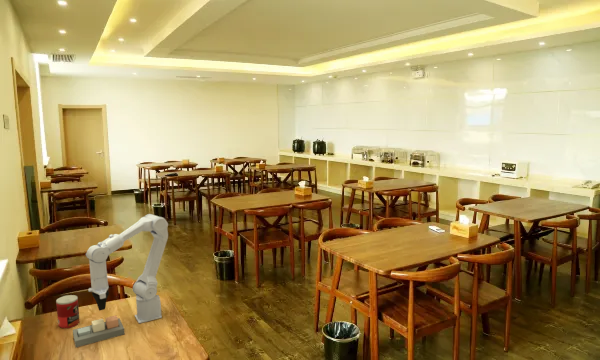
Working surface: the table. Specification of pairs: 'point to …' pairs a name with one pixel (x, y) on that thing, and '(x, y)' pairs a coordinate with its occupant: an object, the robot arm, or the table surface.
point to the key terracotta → (112, 322)
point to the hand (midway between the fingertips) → (101, 309)
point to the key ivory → (98, 325)
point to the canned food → (67, 311)
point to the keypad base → (98, 334)
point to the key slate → (84, 331)
